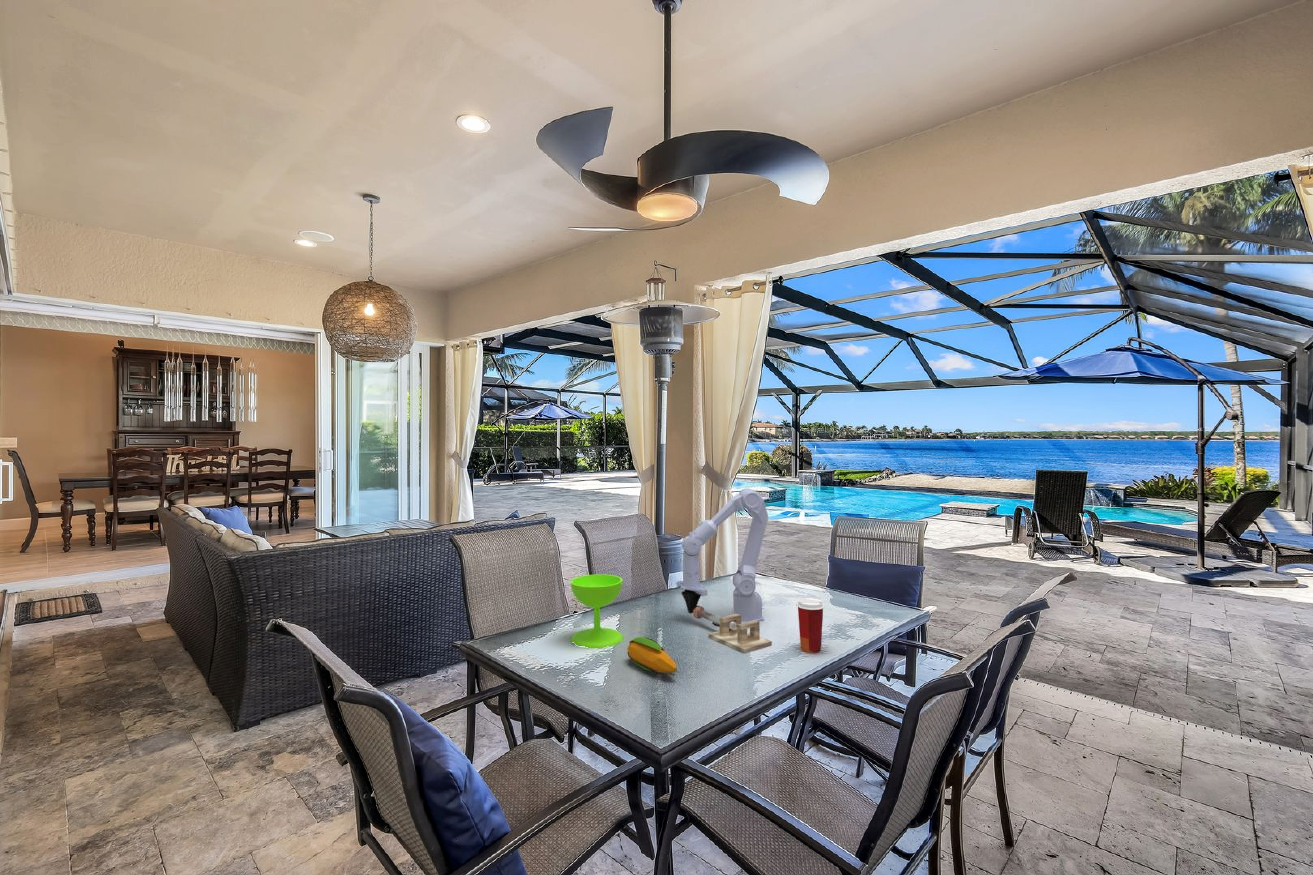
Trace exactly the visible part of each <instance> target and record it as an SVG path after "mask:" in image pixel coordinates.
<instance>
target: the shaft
mask: <svg viewBox="0 0 1313 875" xmlns="http://www.w3.org/2000/svg"><path fill="white" fill-rule="evenodd" d="M692 615H693V617H694V618H695V619H698V620H700V619H702V618H703V619H705V620H708V621H709V622H712V623H715V624H716V625H717V624H718V625H719V626H720V618H721V617H722V616H720V615H717V614H715V613H713V612H709V611H708V610H705V608H704V607H703V606H701V605H697V606H696V607H695V608H694V610H693V613H692ZM737 625H738V624H737V623H736V622H734V621H729V629H732V630H736V629H737Z"/></svg>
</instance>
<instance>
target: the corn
mask: <svg viewBox="0 0 1313 875" xmlns="http://www.w3.org/2000/svg"><path fill="white" fill-rule="evenodd" d="M626 649H627V655H628V658H629V659H631V661H632V662H633V663H634V664H635V665H637V666H638V667H640V668H642V669H643V670H645V671H648V672H650V673H653V672H654V671H655V672H658V673H661V674H662V673H664V674H672V673H675V672H677V671H678V669H677V664H676V662H675V661H674V659H672V658H671V656H669V654H668V653H667V652H666V651H664V647H662V646H661V645H660V644H659V643H658V642H656V641H655V640H654V639H652V638H649V637H645V636H640V637H638V636H637V637H634V638H633V639H632V640H630V641H629V643H628V646H627V648H626Z"/></svg>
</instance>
